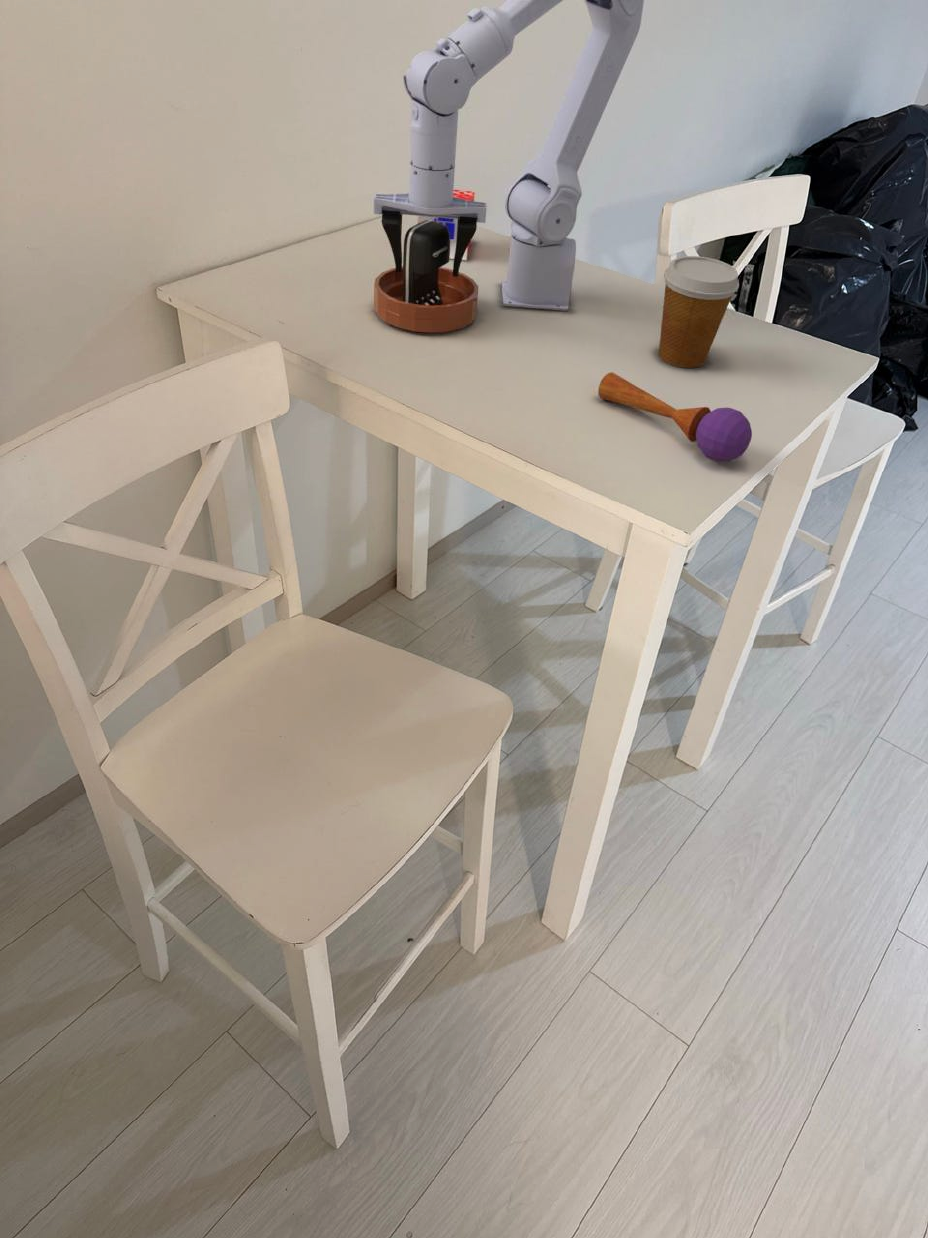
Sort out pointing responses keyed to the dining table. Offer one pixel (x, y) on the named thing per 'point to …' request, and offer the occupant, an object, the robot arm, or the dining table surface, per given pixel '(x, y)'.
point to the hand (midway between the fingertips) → (427, 271)
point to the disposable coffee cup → (694, 308)
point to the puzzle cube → (452, 222)
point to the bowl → (426, 318)
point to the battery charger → (424, 262)
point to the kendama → (687, 419)
